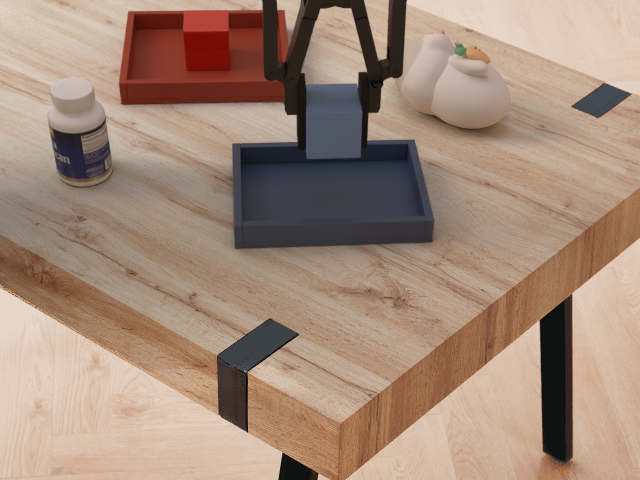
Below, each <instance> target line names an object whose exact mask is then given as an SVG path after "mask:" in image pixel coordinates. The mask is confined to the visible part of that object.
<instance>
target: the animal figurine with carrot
mask: <svg viewBox="0 0 640 480" xmlns="http://www.w3.org/2000/svg"><path fill="white" fill-rule="evenodd" d="M490 63H491V58H490V57H489V56H488V54H487V53H486V52H484V51H483V50H481V49H480V48H479V47H478V46H475V45H467V46H464V45H463V43H462V42H460V43H459V41H456V42H454V43H453V42H452V40H451V39H450V38H449V37H448V36H447V35H446V32H445V30H444V29H440V30H439V31H438V32H432V33H427V34H425V35H423V36H421V37H418V38H416V39H414V40H411V41H405V42H404V61H403V74H402V76H401V77H399V78H396V79H395V78H393V79H394V82H395V86H396V89H397V91H398V93H399V95H400V96H401V97H402V98H403V99H404V100H405V102H407V103H408V104H409V105H410V106H411V107H412V108H414V109H415V110H417V111H419V112H420V113H422V114H425V115H431V116H436V117H437V118H439V119H440V120H441V121H443V122H445V123H447V124H448V125H451V126H454V127H456V128H457V127H458V128H462V129H472V130H473V129H474V130H475V129H483V128H488V127H490V126H493V125H495V124H497V123H498V122H500V121H501V120H502V119H504V117H505V116H506V115H507V113H508V111H509V109H510V107H511V95H510V90H509V88H508V85H507V82H506V81H505V80H504V78H503V76H502V75H501V73H499V71H498V70H497V68H495V67H494V66H493V65H492V64H490Z"/></svg>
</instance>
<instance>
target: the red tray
mask: <svg viewBox="0 0 640 480" xmlns="http://www.w3.org/2000/svg"><path fill="white" fill-rule="evenodd" d="M227 10H228V9H227ZM228 15H229V36H230V70H219V71H186V62H185V50H184V37H183V23H184V10H128V11H127V15H126V16H127V17H126V25H125V32H124V40H123V49H122V56H121V64H120V70H119V80H118V88H119V96H120V104H121V105H143V104H144V105H147V104H149V105H150V104H151V105H153V104H155V105H156V104H203V103H205V104H206V103H208V104H210V103H212V104H213V103H253V102H255V103H260V102H263V103H264V102H268V103H269V102H284V85H283V83H281V82H280V81H277V80H274V81H268V80H266V79H265V77H264V65H263V13H262V9H233V10H232V9H231V10H230V9H229V10H228ZM277 17H278V61H282V62H285V59H286V56H287V52H288V48H289V39H288V30H287V19H286V10H285V9H277Z"/></svg>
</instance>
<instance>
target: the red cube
mask: <svg viewBox="0 0 640 480" xmlns="http://www.w3.org/2000/svg"><path fill="white" fill-rule="evenodd" d="M183 11H184V23H183V37H184V50H185V62H186V71H219V70H230V36H229V15H228V9H207V10H206V9H186V10H183Z"/></svg>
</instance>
